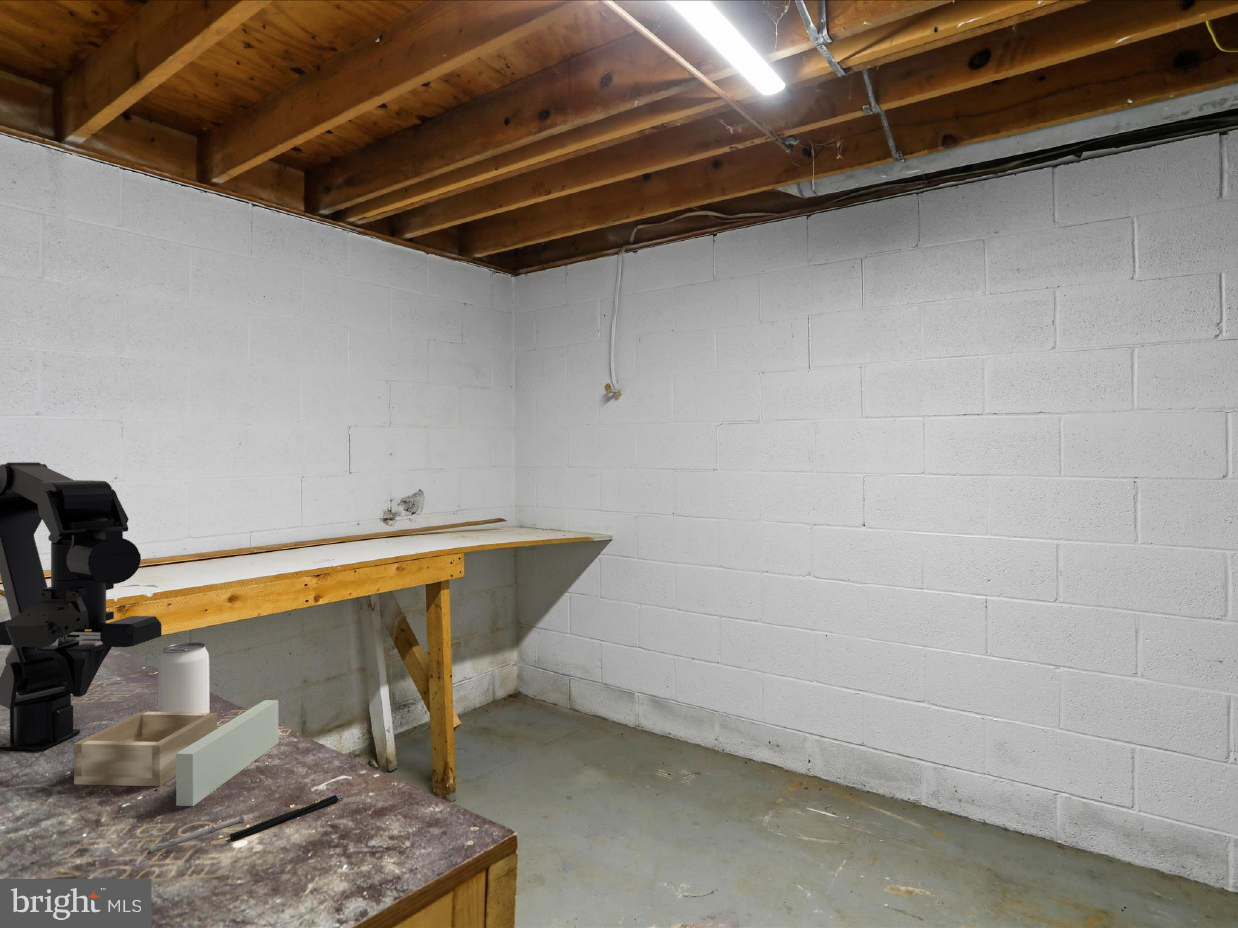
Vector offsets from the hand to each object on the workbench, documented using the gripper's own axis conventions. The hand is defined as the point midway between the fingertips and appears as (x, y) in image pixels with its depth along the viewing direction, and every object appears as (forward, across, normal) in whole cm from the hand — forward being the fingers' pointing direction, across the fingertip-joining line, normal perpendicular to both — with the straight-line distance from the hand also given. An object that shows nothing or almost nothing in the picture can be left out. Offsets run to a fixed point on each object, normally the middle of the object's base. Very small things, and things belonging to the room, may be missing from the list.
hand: (79, 695), depth 91 cm
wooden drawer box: (+9, +10, 0) cm, 13 cm away
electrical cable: (+9, +35, -12) cm, 38 cm away
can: (+9, +5, +13) cm, 17 cm away
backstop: (+9, +21, -1) cm, 23 cm away
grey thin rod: (+9, +27, -16) cm, 33 cm away
